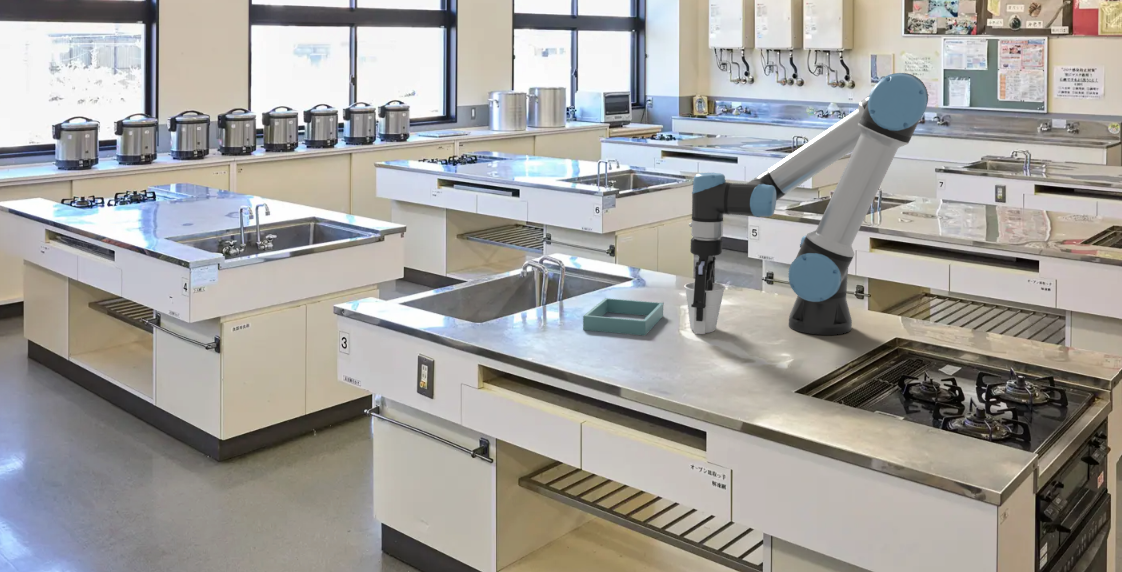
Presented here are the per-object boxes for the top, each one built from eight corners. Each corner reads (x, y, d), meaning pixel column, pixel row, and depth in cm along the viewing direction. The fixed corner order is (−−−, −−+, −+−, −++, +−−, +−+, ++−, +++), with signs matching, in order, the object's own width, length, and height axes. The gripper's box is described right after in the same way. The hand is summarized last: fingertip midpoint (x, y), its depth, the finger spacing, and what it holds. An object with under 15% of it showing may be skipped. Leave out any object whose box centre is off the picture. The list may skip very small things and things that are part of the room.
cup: (722, 336, 238) (724, 291, 236) (681, 334, 240) (682, 289, 238) (724, 325, 248) (726, 282, 245) (684, 323, 250) (685, 280, 247)
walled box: (663, 316, 257) (663, 302, 256) (645, 335, 239) (645, 321, 238) (605, 311, 261) (605, 298, 261) (583, 329, 243) (583, 315, 243)
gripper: (699, 229, 250) (696, 317, 255) (682, 244, 230) (679, 338, 235) (729, 231, 247) (725, 319, 252) (714, 246, 228) (710, 341, 233)
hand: (702, 328), depth 244 cm, fingers closed on cup, 8 cm apart
